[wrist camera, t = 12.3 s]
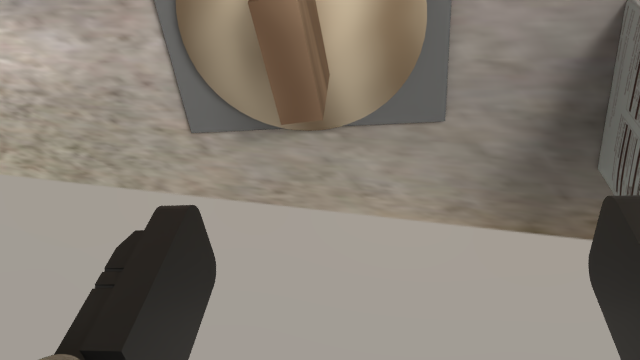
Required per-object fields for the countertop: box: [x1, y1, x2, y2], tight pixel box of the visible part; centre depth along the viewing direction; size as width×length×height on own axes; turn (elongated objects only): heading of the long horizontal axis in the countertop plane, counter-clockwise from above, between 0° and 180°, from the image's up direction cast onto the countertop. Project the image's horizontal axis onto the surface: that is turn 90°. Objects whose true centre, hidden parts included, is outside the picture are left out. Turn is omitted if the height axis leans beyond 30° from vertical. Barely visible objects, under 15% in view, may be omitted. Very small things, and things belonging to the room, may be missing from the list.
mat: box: [154, 0, 451, 133], centre depth 33 cm, size 18×16×1 cm
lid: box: [176, 0, 427, 131], centre depth 30 cm, size 15×15×6 cm
